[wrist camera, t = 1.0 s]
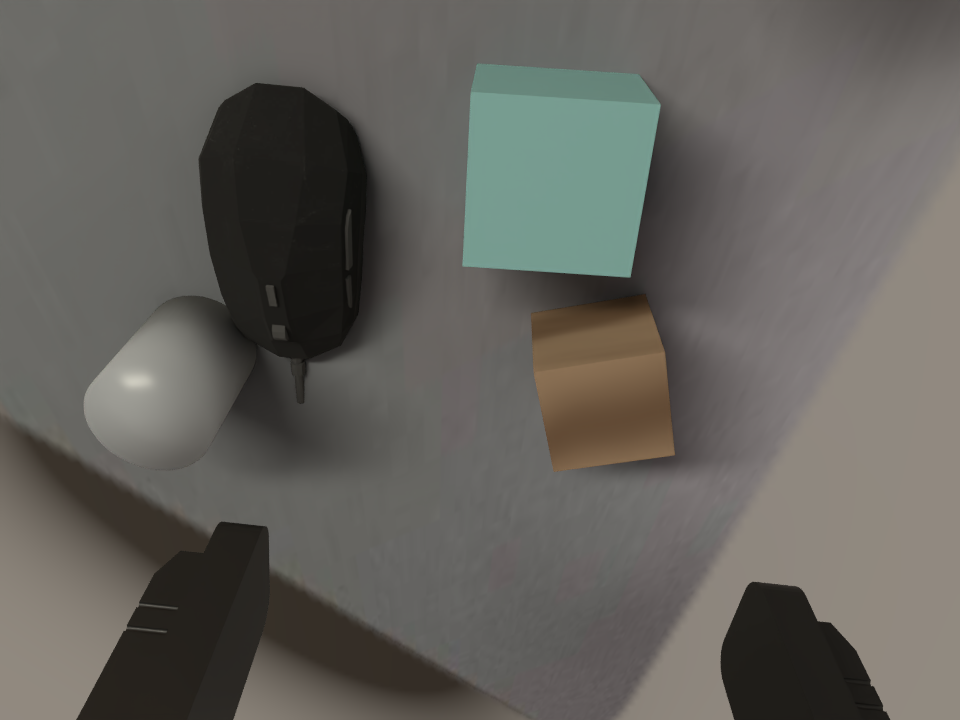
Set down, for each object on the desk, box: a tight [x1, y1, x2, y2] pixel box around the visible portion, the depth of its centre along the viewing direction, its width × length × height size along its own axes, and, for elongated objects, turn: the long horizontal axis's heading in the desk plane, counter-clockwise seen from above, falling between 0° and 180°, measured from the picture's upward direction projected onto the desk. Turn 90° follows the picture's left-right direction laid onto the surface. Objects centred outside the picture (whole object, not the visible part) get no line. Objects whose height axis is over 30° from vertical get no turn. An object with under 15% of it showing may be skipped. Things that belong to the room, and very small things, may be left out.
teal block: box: [463, 64, 661, 277], centre depth 27 cm, size 6×6×5 cm
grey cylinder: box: [84, 296, 257, 470], centre depth 32 cm, size 5×5×6 cm
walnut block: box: [531, 294, 675, 472], centre depth 32 cm, size 5×5×5 cm
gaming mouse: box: [199, 83, 367, 404], centre depth 31 cm, size 6×15×4 cm, turn 175°
